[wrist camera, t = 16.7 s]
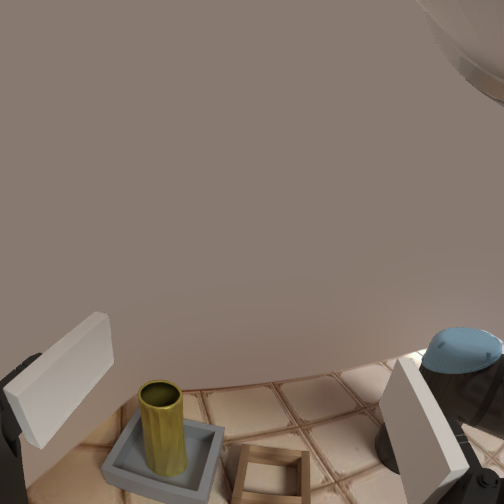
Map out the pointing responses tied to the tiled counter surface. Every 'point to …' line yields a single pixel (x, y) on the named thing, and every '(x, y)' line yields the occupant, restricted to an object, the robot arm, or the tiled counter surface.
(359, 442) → the tiled counter surface
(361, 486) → the tiled counter surface
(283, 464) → the socket
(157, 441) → the vase
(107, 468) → the tray
